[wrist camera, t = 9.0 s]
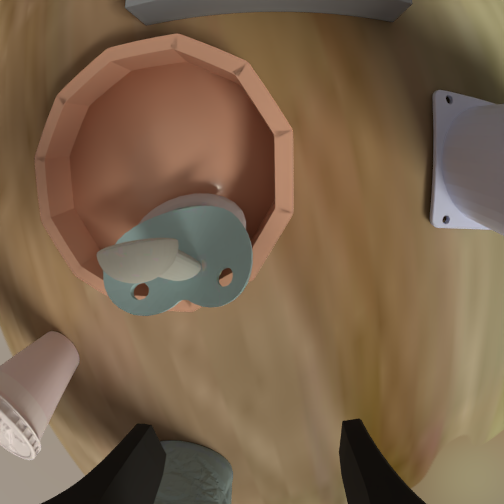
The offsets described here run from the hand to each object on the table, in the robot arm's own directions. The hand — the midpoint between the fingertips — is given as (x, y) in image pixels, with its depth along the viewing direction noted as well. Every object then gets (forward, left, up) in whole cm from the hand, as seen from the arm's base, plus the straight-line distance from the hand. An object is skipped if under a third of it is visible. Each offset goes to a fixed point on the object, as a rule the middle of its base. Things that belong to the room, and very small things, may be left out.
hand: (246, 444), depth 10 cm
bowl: (+5, -9, -9) cm, 14 cm away
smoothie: (+16, +4, -10) cm, 19 cm away
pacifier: (+3, -5, -7) cm, 9 cm away
